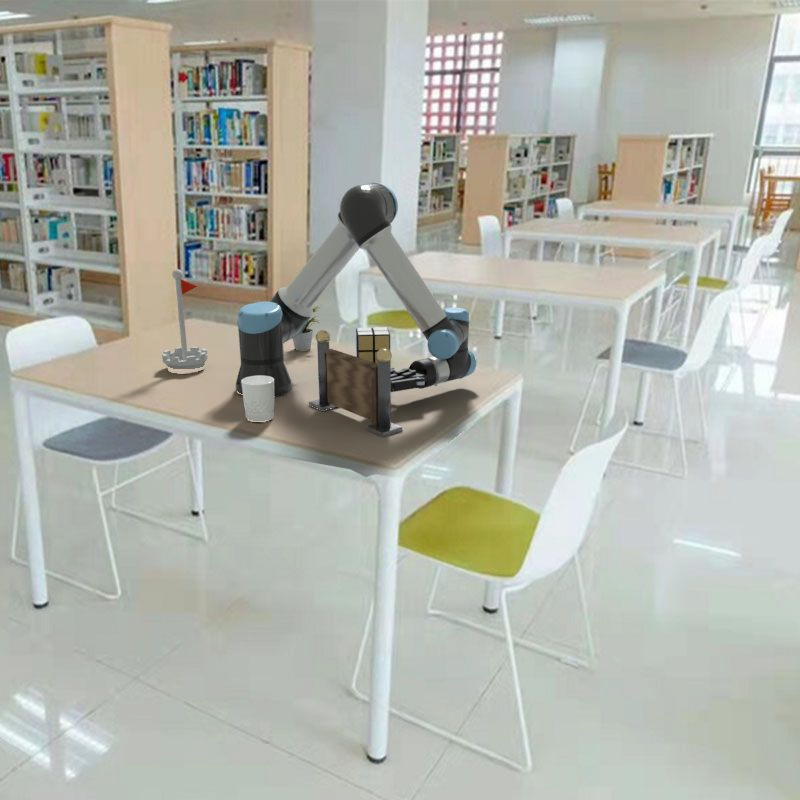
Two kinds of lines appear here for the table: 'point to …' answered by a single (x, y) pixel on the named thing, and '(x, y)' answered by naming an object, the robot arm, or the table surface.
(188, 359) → the flag stand
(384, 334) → the puzzle cube
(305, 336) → the house plant
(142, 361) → the table surface
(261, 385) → the white cup
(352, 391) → the panel
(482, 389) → the table surface
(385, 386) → the gate posts
